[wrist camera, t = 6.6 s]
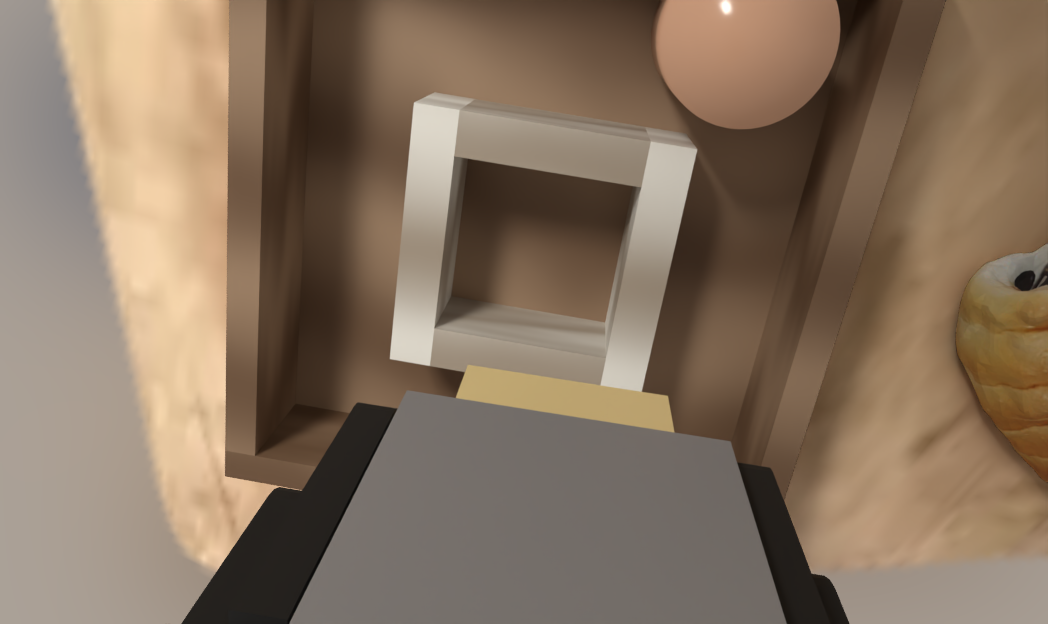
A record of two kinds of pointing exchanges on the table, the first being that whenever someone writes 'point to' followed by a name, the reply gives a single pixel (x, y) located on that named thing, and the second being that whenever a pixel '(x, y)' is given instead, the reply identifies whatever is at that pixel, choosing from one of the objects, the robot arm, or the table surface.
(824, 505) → the table surface
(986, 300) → the pastry
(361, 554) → the gray block
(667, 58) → the ball
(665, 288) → the crate
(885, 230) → the table surface
